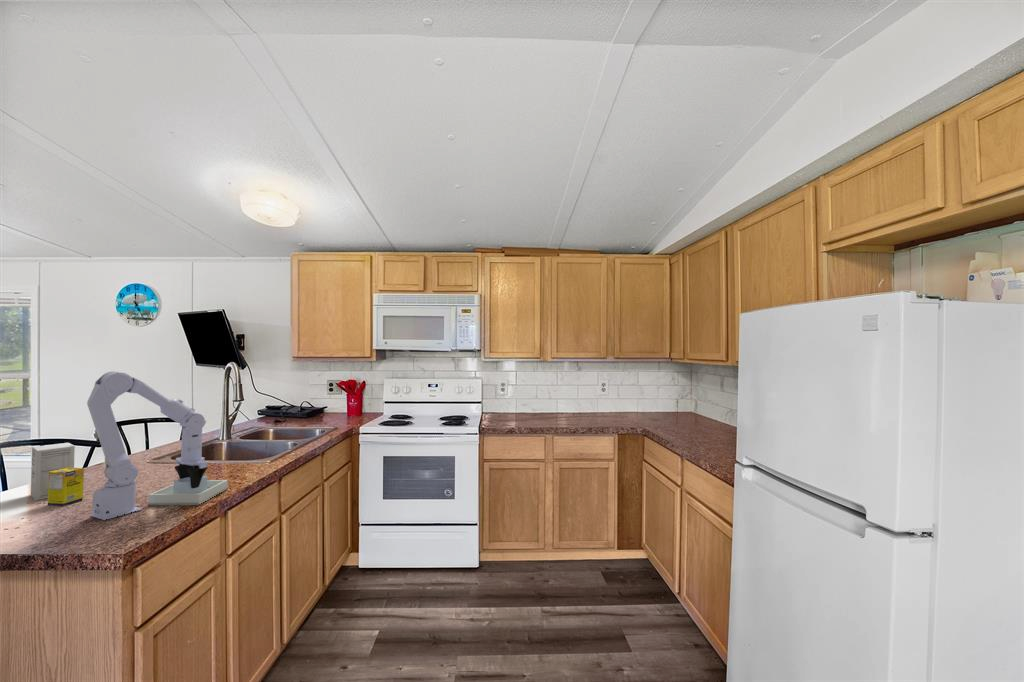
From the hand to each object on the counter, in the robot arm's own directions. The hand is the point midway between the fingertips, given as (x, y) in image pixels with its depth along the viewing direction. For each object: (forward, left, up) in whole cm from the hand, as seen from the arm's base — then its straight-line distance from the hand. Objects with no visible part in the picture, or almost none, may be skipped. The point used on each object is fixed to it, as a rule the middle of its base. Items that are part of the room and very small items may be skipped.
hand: (190, 486), depth 149 cm
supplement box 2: (-19, +45, -4) cm, 49 cm away
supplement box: (-21, +30, -4) cm, 37 cm away
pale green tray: (0, 0, -4) cm, 4 cm away
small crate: (0, 0, -2) cm, 2 cm away
